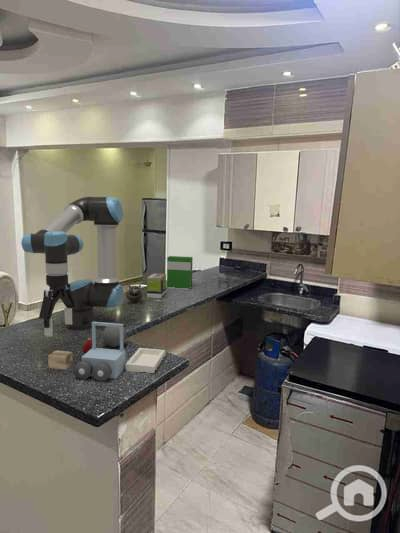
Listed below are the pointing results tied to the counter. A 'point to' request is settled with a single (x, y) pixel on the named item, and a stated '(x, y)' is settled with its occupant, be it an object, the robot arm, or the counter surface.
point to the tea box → (156, 285)
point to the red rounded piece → (87, 346)
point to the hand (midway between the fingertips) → (59, 329)
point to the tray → (145, 360)
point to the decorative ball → (113, 336)
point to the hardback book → (179, 272)
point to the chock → (60, 360)
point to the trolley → (102, 359)
